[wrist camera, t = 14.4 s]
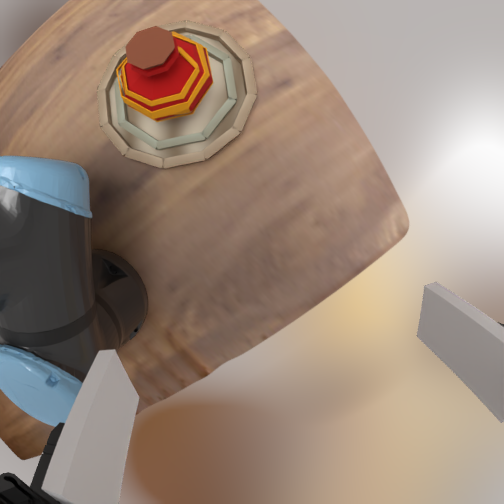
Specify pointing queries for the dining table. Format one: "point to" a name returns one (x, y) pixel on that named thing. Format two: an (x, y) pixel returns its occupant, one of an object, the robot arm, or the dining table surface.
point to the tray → (190, 126)
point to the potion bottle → (164, 74)
